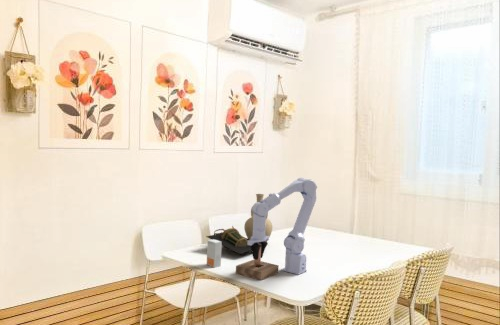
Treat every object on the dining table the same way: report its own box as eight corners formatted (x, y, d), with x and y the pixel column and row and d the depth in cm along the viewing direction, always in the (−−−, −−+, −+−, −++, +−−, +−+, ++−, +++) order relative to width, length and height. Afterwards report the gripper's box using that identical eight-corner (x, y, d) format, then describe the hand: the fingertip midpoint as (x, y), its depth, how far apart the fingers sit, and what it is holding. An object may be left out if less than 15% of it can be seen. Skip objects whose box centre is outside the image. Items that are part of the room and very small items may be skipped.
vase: (277, 246, 234) (279, 195, 233) (254, 249, 224) (256, 196, 223) (260, 240, 247) (262, 192, 246) (238, 242, 238) (240, 193, 237)
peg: (261, 263, 181) (262, 244, 181) (257, 264, 179) (258, 245, 179) (256, 262, 183) (257, 242, 183) (252, 263, 181) (253, 243, 181)
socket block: (278, 272, 183) (278, 265, 183) (261, 280, 171) (261, 272, 171) (253, 266, 191) (253, 259, 191) (235, 273, 180) (236, 265, 179)
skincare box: (206, 264, 191) (207, 240, 190) (213, 263, 194) (214, 239, 193) (214, 267, 186) (215, 242, 186) (221, 266, 189) (222, 241, 189)
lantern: (235, 266, 203) (195, 241, 219) (259, 261, 222) (220, 238, 238) (243, 242, 201) (202, 218, 218) (267, 239, 220) (227, 217, 237)
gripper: (260, 225, 189) (259, 253, 189) (242, 229, 177) (241, 259, 177) (273, 227, 185) (271, 256, 185) (255, 232, 173) (254, 262, 173)
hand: (257, 258), depth 181 cm, fingers closed on peg, 3 cm apart
